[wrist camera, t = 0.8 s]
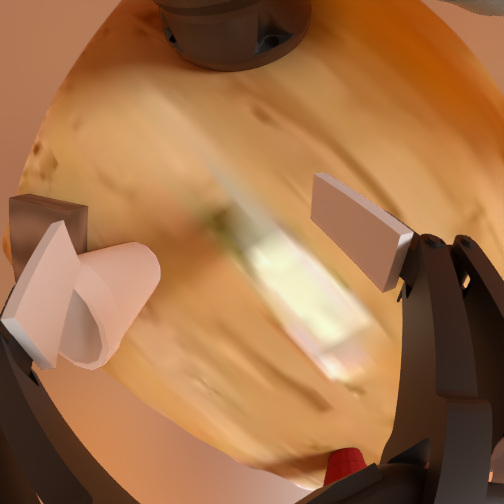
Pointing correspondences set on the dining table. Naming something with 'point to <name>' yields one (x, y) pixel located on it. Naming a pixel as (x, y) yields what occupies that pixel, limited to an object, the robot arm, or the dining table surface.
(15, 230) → the walnut plinth
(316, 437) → the dining table surface
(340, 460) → the plastic cup
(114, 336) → the foam cup
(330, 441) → the dining table surface
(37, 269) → the robot arm
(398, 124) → the dining table surface
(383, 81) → the dining table surface
